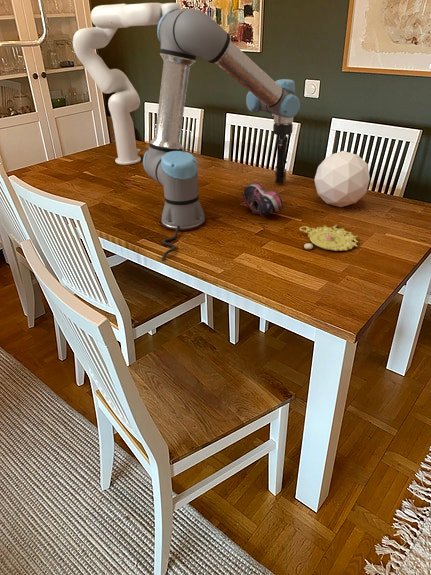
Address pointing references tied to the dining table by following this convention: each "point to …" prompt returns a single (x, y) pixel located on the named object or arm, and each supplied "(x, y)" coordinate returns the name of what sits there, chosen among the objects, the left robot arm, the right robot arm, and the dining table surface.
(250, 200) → the athletic shoe
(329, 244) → the decorative object
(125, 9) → the left robot arm
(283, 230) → the dining table surface
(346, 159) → the sphere
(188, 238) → the dining table surface
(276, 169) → the block
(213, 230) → the dining table surface
